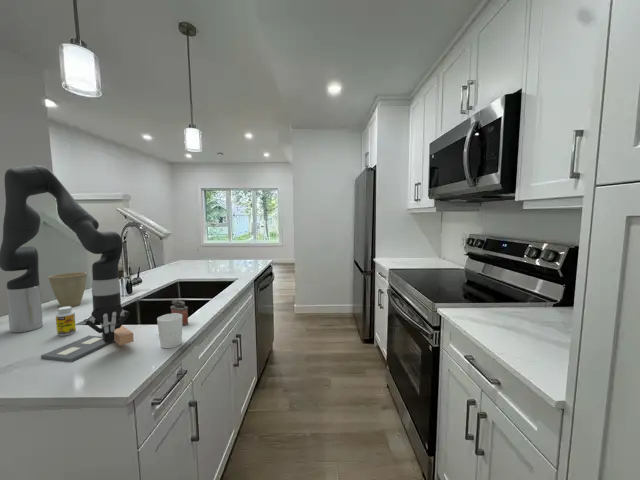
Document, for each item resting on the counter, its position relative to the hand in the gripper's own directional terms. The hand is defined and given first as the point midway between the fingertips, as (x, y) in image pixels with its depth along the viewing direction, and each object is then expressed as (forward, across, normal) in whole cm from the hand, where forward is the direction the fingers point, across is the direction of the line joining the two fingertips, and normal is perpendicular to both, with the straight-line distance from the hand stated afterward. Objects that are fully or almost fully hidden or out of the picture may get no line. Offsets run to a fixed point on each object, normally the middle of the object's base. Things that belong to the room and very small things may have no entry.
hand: (109, 342), depth 99 cm
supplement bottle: (+4, -4, +32) cm, 32 cm away
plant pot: (+4, +8, +77) cm, 77 cm away
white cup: (+3, +15, -11) cm, 19 cm away
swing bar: (+2, +4, +6) cm, 8 cm away
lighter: (+3, +27, +6) cm, 28 cm away
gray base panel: (+3, -3, +11) cm, 12 cm away
